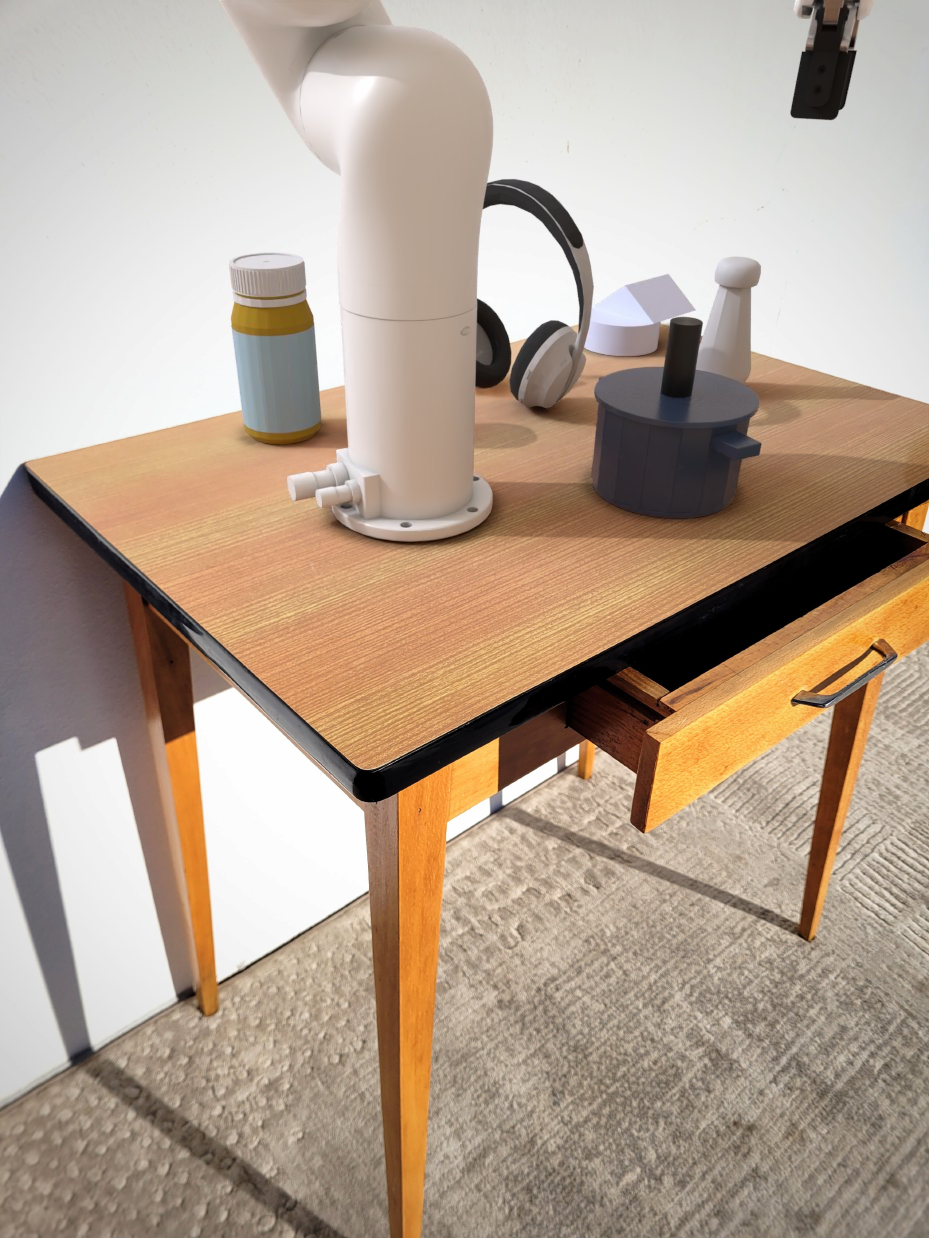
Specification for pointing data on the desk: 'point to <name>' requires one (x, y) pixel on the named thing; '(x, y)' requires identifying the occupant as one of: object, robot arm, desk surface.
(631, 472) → the pot
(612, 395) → the lid
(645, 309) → the wedge on round base
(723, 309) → the salt shaker
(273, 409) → the bottle
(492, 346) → the headphones
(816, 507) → the desk surface
